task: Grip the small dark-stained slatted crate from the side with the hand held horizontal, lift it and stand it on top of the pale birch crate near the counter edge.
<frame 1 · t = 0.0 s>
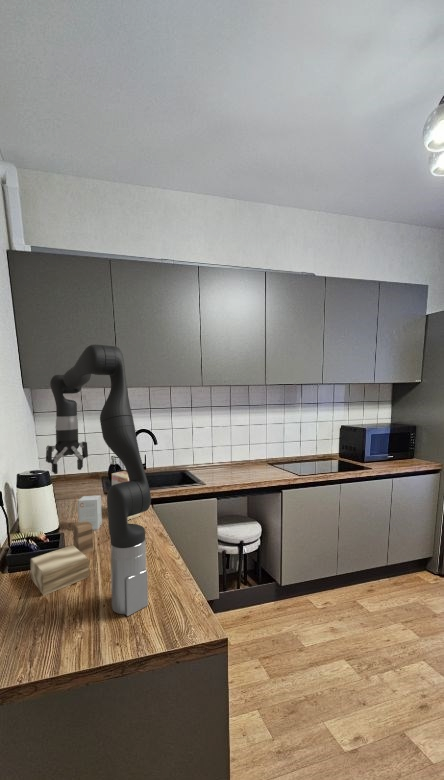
hand: (67, 471, 122), 29 cm above the countertop, tool pointing down, fingers open, 8 cm apart
coffeecake box: (126, 515, 156), on the countertop
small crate: (83, 551, 120), on the countertop
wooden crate: (59, 577, 103), on the countertop
small box: (90, 528, 142), on the countertop
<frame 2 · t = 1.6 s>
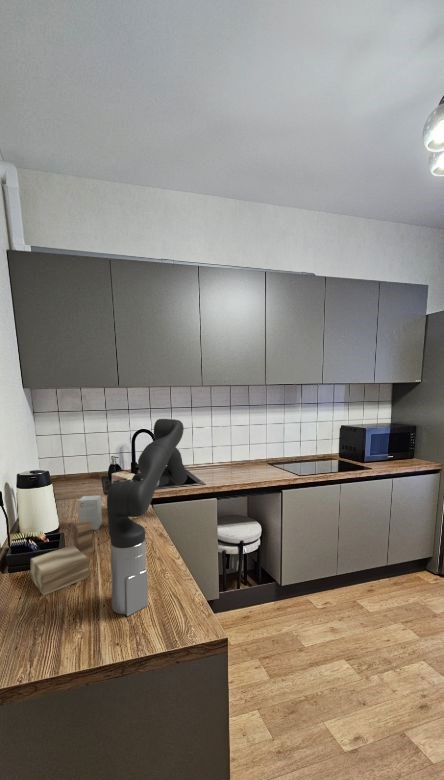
hand: (109, 490, 128), 20 cm above the countertop, tool horizontal, fingers open, 8 cm apart
nothing on the countertop moved.
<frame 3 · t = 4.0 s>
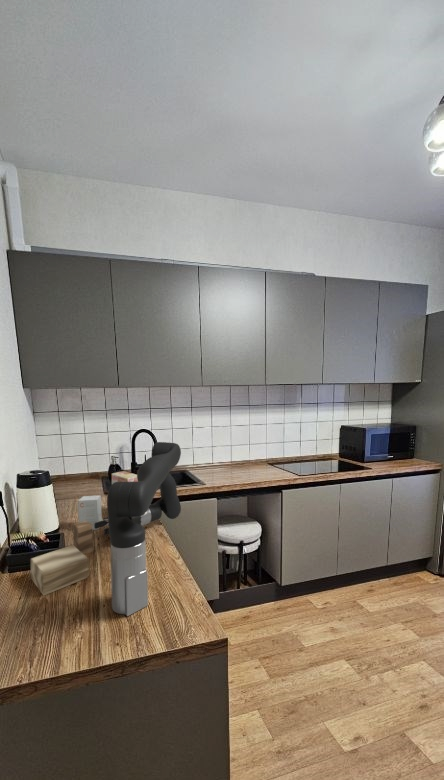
hand: (99, 529, 125), 6 cm above the countertop, tool horizontal, fingers open, 8 cm apart
nothing on the countertop moved.
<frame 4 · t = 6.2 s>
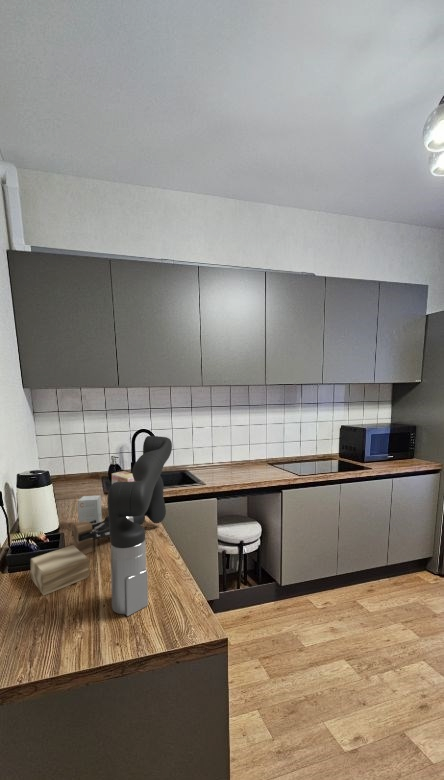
hand: (75, 536, 118), 7 cm above the countertop, tool horizontal, fingers closed on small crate, 5 cm apart
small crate: (83, 551, 120), on the countertop, touching gripper
everything else where it was.
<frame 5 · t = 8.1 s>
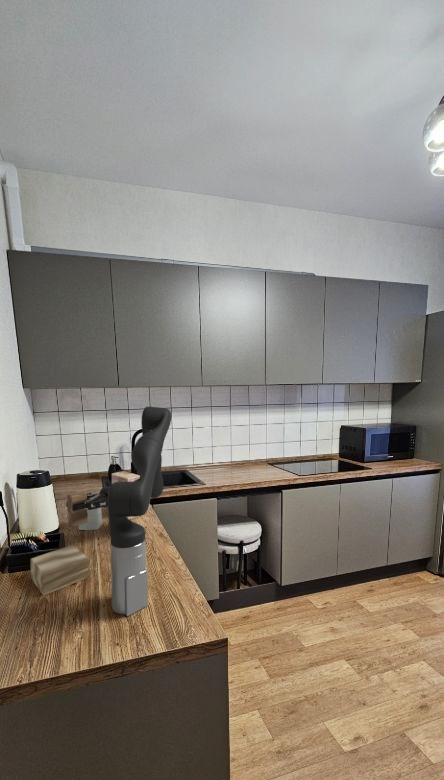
hand: (69, 506, 115), 19 cm above the countertop, tool horizontal, fingers closed on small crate, 5 cm apart
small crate: (77, 522, 116), point 12 cm above the countertop, touching gripper
everything else where it was.
when the fingers open (14 cm above the countertop, at t = 10.5 s): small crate drops 1 cm, resting on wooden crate.
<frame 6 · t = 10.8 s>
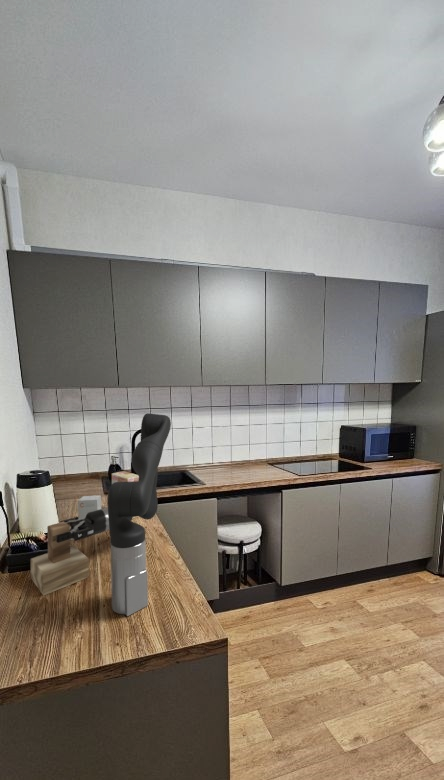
hand: (52, 535, 102), 14 cm above the countertop, tool horizontal, fingers open, 8 cm apart
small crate: (59, 557, 103), point 6 cm above the countertop, touching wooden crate
everything else where it was.
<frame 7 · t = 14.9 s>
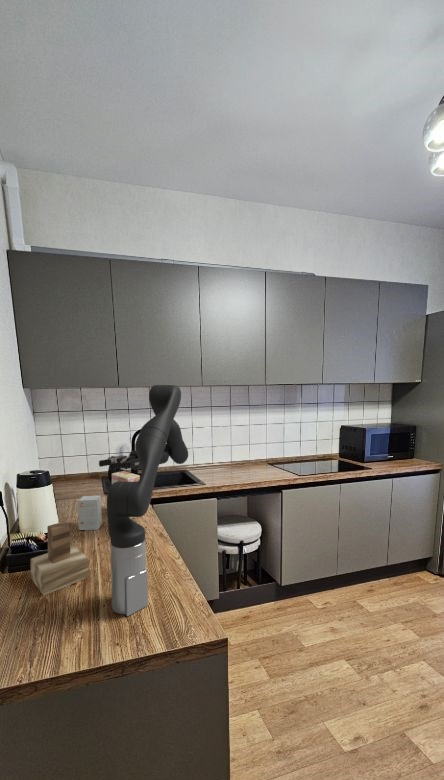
hand: (104, 465, 118), 32 cm above the countertop, tool horizontal, fingers open, 8 cm apart
nothing on the countertop moved.
at the end: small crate inside the target area on the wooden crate (0.2 cm from its centre), point 6.2 cm above the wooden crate's base; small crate tilted 0°; the gripper is holding nothing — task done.
